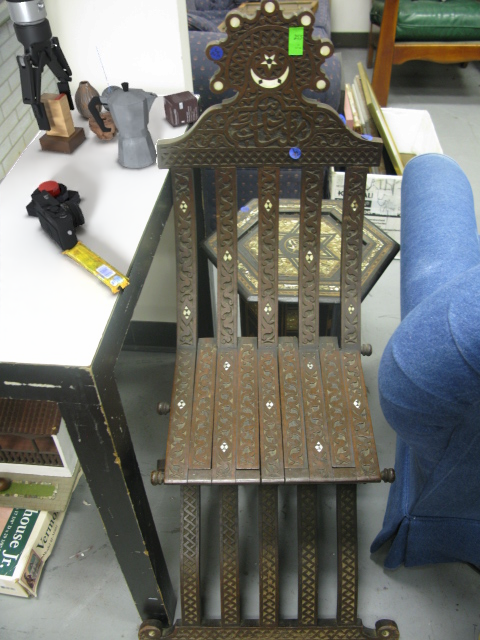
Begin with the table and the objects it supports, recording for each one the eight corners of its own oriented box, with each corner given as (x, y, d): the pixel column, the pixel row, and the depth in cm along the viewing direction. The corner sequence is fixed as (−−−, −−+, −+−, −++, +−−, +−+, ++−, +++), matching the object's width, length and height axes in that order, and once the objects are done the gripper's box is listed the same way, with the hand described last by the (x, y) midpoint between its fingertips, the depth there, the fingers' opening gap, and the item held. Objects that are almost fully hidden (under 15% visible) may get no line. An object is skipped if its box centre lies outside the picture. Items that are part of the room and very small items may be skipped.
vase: (82, 123, 147) (74, 89, 141) (75, 113, 151) (67, 80, 145) (107, 116, 149) (100, 83, 143) (99, 107, 154) (92, 75, 147)
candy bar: (112, 290, 95) (115, 297, 97) (131, 276, 97) (133, 284, 99) (58, 247, 104) (61, 255, 105) (76, 236, 105) (79, 243, 107)
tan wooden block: (46, 134, 136) (35, 97, 130) (54, 128, 139) (43, 91, 132) (68, 137, 135) (58, 99, 128) (75, 130, 137) (66, 93, 131)
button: (36, 196, 115) (34, 189, 113) (47, 187, 117) (44, 179, 116) (54, 199, 114) (51, 191, 113) (63, 189, 116) (61, 181, 115)
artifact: (104, 128, 144) (100, 109, 141) (128, 133, 141) (124, 114, 138) (85, 141, 139) (81, 121, 136) (109, 146, 137) (105, 127, 133)
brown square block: (42, 150, 137) (38, 138, 135) (58, 135, 143) (55, 124, 140) (70, 153, 135) (67, 142, 133) (86, 138, 141) (83, 127, 139)
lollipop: (136, 66, 133) (115, 83, 131) (132, 108, 153) (114, 123, 151) (107, 36, 133) (86, 53, 131) (107, 82, 152) (88, 98, 150)
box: (199, 121, 146) (174, 127, 144) (190, 112, 150) (165, 118, 147) (197, 98, 141) (171, 105, 139) (188, 89, 145) (162, 95, 143)
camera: (101, 243, 108) (92, 208, 102) (67, 258, 105) (56, 223, 99) (68, 212, 116) (58, 178, 111) (36, 226, 113) (24, 191, 107)
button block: (28, 215, 116) (22, 199, 113) (48, 195, 122) (43, 179, 119) (62, 220, 114) (57, 203, 112) (80, 200, 120) (76, 183, 117)
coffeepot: (164, 146, 136) (154, 71, 123) (167, 165, 129) (156, 87, 117) (101, 153, 135) (84, 78, 122) (100, 173, 128) (82, 95, 115)
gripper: (15, 38, 110) (46, 142, 126) (72, 4, 126) (93, 101, 141) (-17, 36, 112) (17, 139, 127) (43, 3, 128) (67, 98, 143)
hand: (57, 119), depth 134 cm, fingers open, 11 cm apart
